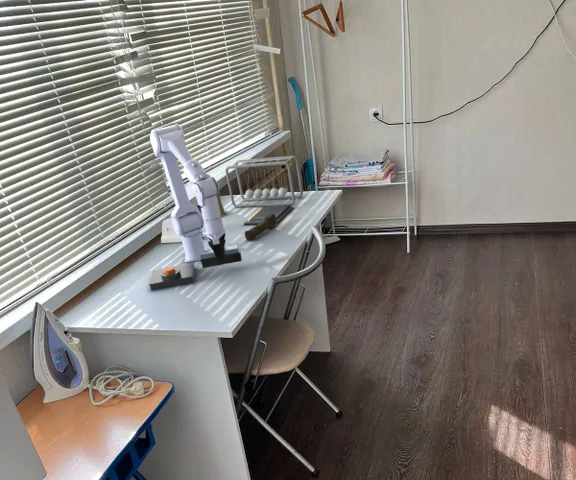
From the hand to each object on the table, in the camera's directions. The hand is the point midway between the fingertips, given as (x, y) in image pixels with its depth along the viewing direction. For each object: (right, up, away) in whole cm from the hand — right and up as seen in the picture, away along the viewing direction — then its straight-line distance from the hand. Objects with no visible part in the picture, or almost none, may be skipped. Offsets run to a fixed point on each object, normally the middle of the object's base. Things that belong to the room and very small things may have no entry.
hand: (221, 258), depth 199 cm
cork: (-8, +31, +61) cm, 69 cm away
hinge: (-19, +16, +40) cm, 47 cm away
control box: (-16, -7, +3) cm, 18 cm away
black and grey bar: (0, -1, +1) cm, 1 cm away
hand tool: (+12, +16, +31) cm, 37 cm away
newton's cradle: (+13, +38, +65) cm, 77 cm away
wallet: (+14, +27, +48) cm, 56 cm away
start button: (-16, -5, -2) cm, 17 cm away
